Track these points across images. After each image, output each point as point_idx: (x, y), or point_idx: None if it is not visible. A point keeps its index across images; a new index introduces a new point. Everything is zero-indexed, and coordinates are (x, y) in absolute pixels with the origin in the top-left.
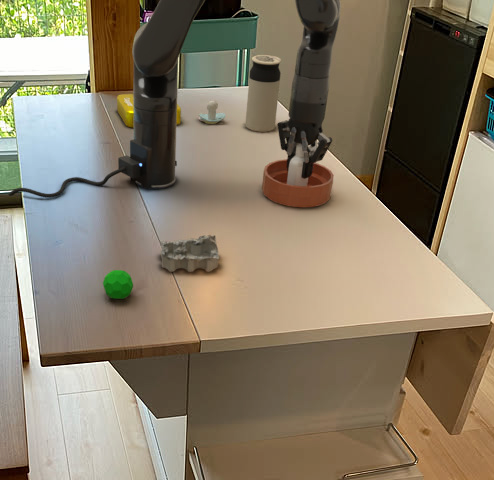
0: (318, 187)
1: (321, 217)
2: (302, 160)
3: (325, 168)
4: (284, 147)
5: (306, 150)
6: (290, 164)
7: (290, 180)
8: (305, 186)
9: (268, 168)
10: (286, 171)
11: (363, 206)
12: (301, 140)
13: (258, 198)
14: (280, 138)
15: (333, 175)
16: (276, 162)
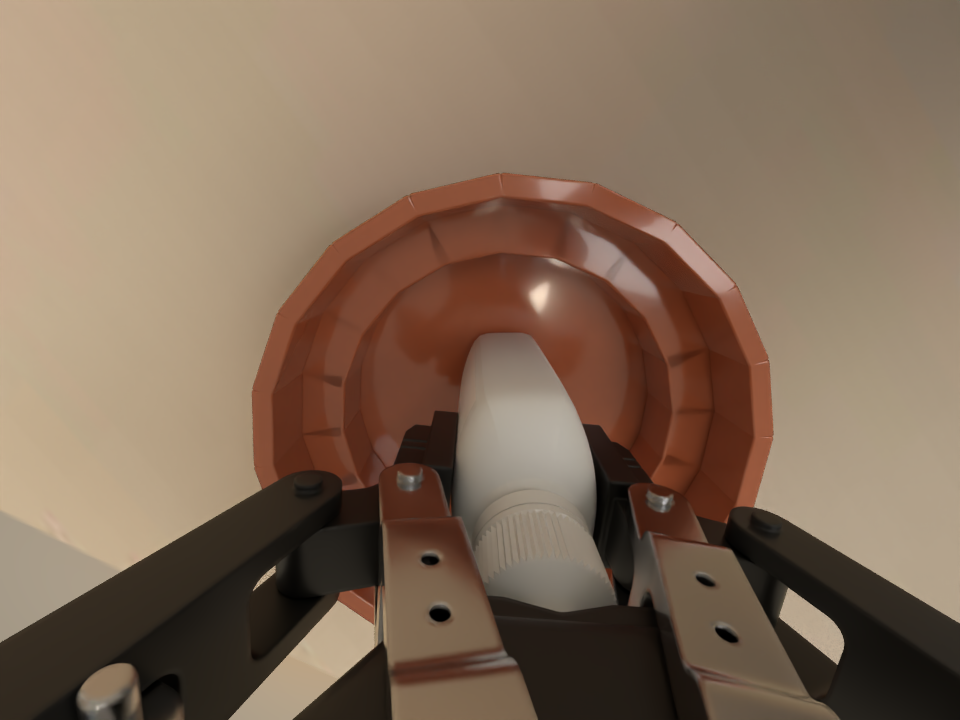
0: (264, 362)
1: (220, 256)
2: (470, 479)
3: None
4: (747, 526)
5: (385, 525)
6: (551, 390)
7: (514, 352)
8: (320, 283)
9: (738, 379)
10: None
11: (180, 525)
12: (539, 653)
13: (623, 180)
14: (898, 596)
15: None
16: (739, 482)
